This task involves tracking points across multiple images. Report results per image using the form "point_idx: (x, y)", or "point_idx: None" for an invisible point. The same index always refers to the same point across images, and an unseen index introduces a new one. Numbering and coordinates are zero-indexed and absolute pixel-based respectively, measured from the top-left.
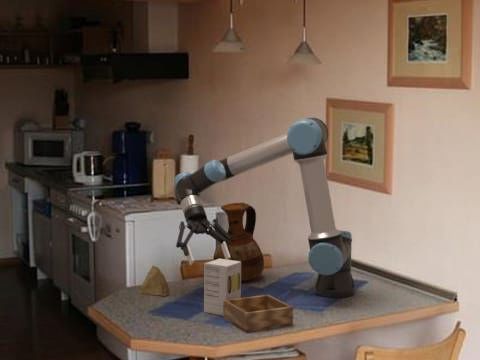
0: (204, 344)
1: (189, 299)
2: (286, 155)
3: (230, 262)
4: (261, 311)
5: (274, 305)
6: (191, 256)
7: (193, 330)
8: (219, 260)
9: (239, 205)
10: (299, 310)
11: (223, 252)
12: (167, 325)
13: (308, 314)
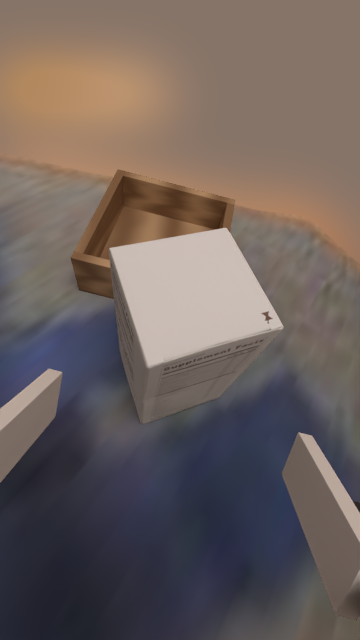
0: (321, 237)
1: (172, 588)
2: None
3: (168, 257)
4: (197, 190)
5: (100, 234)
6: (319, 457)
7: (309, 300)
8: (184, 320)
9: None
10: (8, 253)
11: (17, 458)
12: (352, 363)
13: (25, 225)
